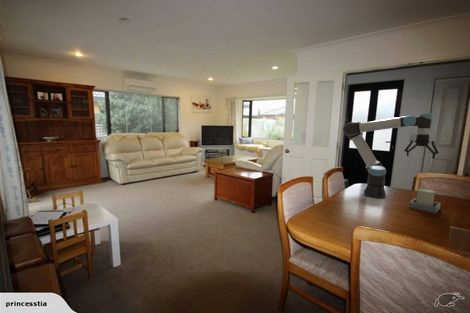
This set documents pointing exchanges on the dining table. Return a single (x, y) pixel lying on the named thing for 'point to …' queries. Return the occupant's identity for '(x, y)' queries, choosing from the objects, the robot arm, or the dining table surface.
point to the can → (425, 197)
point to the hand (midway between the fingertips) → (419, 161)
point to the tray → (425, 206)
